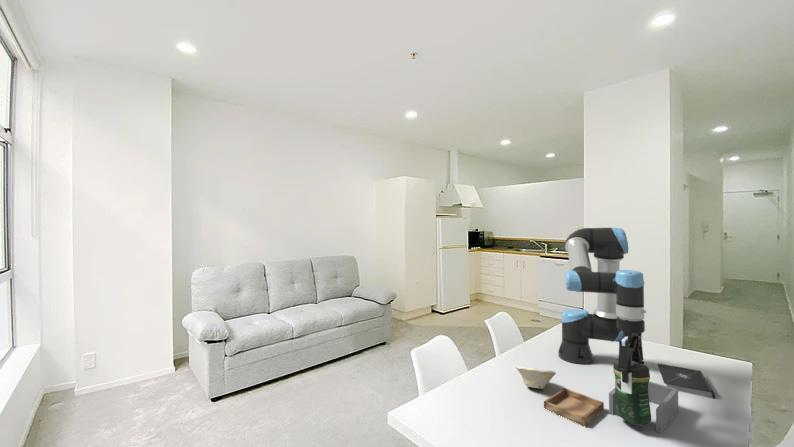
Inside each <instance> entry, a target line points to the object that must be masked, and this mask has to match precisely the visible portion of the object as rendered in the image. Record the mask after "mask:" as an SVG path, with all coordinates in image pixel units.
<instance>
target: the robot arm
mask: <svg viewBox="0 0 794 447" xmlns="http://www.w3.org/2000/svg"><path fill="white" fill-rule="evenodd" d="M564 249H565V251H566V253H567V255H568V262H569V270H568V271H565V288H566V290H568V292H569V291H571V292H576V293H595V294H596V293H597V298H596V299H597V300H596V301H597V303H596V304H597V305H596V306H597V307H596V308H594V309H593V313H589V311H588V310H586V309H582V308H575V309H573V308H572V309H566V310H565V311H563V312H562V314H561V342H560V345H559V348H558V358H559V359H561V360H563V361H566V362H569V363H571V364H572V363H573V364H579V365H589V364H593V362H594V354H593V352H592V349H591V346H590V340H597V341H598V340H599V341H605V342H612V343H614V342H615V343H617V342H618V345H619V346H618V358H619V359H618V368H617V370H619V371H621V391H623V392H626V393H629V394H632V373H631V372H630V369H631V361H634V362H637V363H639V364H642V365H645V361H644V352H643V351H644V350H643V342H642V341H643V340H642V338H643V336H642V334H643V333H644V332H645V331H646V329H645V328H646V327H645V325H646V324H645V322H646V321H645V320H644V319H645V314H647V310H645V280H644V273H643V272H641V271H640V270H639V271H638V270H633V269H632V270H631V269H620V267H621V266H620V262H621V261H622V260H623V259H624V257H625V256H624V255H626V254H629V242H628V237H627V234H626V232H625V230H624V229H623V228H621V227H592V228H591V227H584V228H580V229H577V230H575V231H574V232H572V233H570V234H569V235H568V237H567V238H566V240H565V243H564ZM590 254H593V257H594V258H595V259H596V260H597V271H593V269H592V264H591V261H590Z"/></svg>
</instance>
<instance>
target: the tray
mask: <svg viewBox="0 0 794 447" xmlns="http://www.w3.org/2000/svg"><path fill="white" fill-rule="evenodd" d="M604 404H605V403H604V401H601V400H599V399H595V398H593V397H591V396H588V395H584V394H583V393H579V392H576V391H574V390H571V389H568V388H566V387H563V388H562V389H560V390H559V391H557V392H556V393H555V394H553V395H551V396H549V397H548V398H547V399H545V400H544V401H543V409H544V408H545V409H547V410H549V411H551V412H550V413H552V412H554V413H556V414H558V415H557V416H559V415H560V416H559V417H561V416H562V417H561V418H563V417H564V418H563V419H565V418H567V419H566V420H568V419H569V420H568V421H570V420H571V421H570V422H572V421H574V422H573V423H575V422H576V423H575V424H577V423H578V424H577V425H579V424H580V425H579V426H581V425H582V427H584V426H585V427H586V426H587V425H589V424H590V423H591V422H592V421H593V420H594V419H595V418H596V417H598V416H597V415H598V414H599V415H600V414H601V413H602V412H603V411H604V410H605V409H604V407H605V406H604ZM545 409H544V410H545ZM547 410H546V411H547ZM549 411H548V412H549ZM554 413H553V414H554ZM556 414H555V415H556ZM590 421H591V422H590ZM589 422H590V423H589ZM588 423H589V424H588Z"/></svg>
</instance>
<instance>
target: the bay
mask: <svg viewBox="0 0 794 447" xmlns="http://www.w3.org/2000/svg"><path fill="white" fill-rule="evenodd" d="M648 394H649V403H653V404H656V405H658V406H657V407H656V408H655V422H656V423H655V428H656V430H655V431H656V432H657V433H660V434H662V432H663V431H664V430H665V429H666V427H667V426H668V425H669V424H670V422H671V421H672V419H673V418H674V416H675V415H676V413H678V411H679V391H678V389H674V388H671V387H668V386H666V385H663V384H660V383H657V382H654V381H650V380H649V383H648ZM614 402H615V387H614V388H613V389H612V390H610V391H609V392H608V410H609V411H608V412H609V414H610V415H612V416H613V415H615V414H616V413H615V411H614Z"/></svg>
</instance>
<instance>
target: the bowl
mask: <svg viewBox="0 0 794 447" xmlns="http://www.w3.org/2000/svg"><path fill="white" fill-rule="evenodd" d="M515 369H516V370H517V372H518V373H519V374H520V376H521V377H522V381H523V383H524V384H525V386H526V387H527V388H533V389H542V390H544V389H545V388H546V386H547V385H548V383H549V382H550V381H551V380H552V378H553V377H555V375H556V374H557V373H556V371H554V370H550V369H549V370H548V369H547V370H543V369H539V368H532V367H528V366H526V367H524V366H519V365H518V366H516V367H515Z"/></svg>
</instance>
